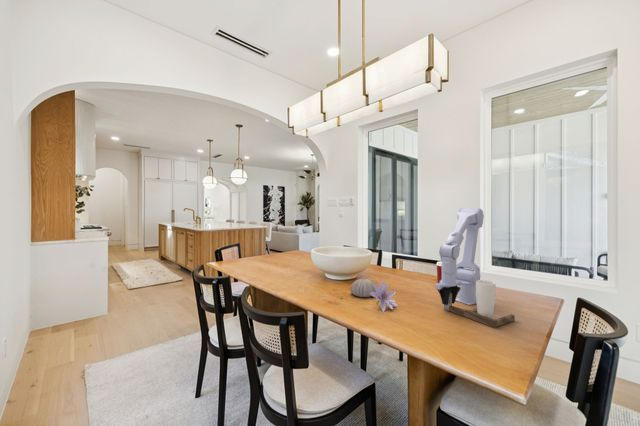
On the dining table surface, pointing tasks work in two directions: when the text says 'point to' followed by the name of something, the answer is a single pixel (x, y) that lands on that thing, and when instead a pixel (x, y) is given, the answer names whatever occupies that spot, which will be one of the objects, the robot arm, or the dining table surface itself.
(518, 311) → the dining table surface
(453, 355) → the dining table surface
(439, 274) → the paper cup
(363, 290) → the sea urchin shell
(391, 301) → the water lily
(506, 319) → the sliding frame
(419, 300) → the dining table surface
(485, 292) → the drinking glass
